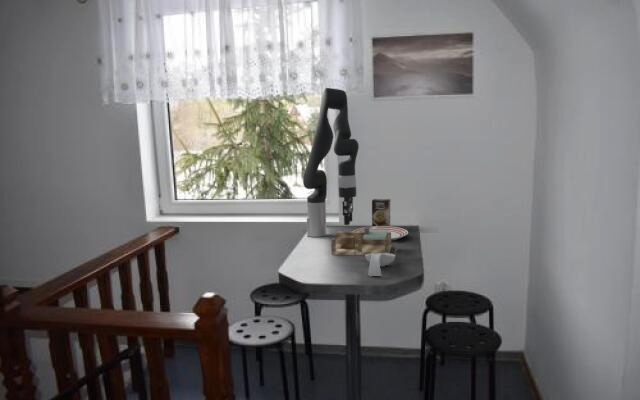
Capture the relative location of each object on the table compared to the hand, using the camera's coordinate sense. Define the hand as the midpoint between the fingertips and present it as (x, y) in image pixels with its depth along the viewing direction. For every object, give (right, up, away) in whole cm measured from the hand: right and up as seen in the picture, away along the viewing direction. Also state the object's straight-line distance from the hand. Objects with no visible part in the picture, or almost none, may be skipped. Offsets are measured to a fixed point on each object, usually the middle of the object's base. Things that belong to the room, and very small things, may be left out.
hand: (348, 223), depth 215 cm
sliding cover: (+12, -5, -2) cm, 13 cm away
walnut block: (0, -12, +2) cm, 12 cm away
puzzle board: (+6, -13, 0) cm, 14 cm away
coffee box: (+20, -6, +48) cm, 53 cm away
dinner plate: (+17, -9, +29) cm, 34 cm away
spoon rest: (+10, -16, -26) cm, 32 cm away
